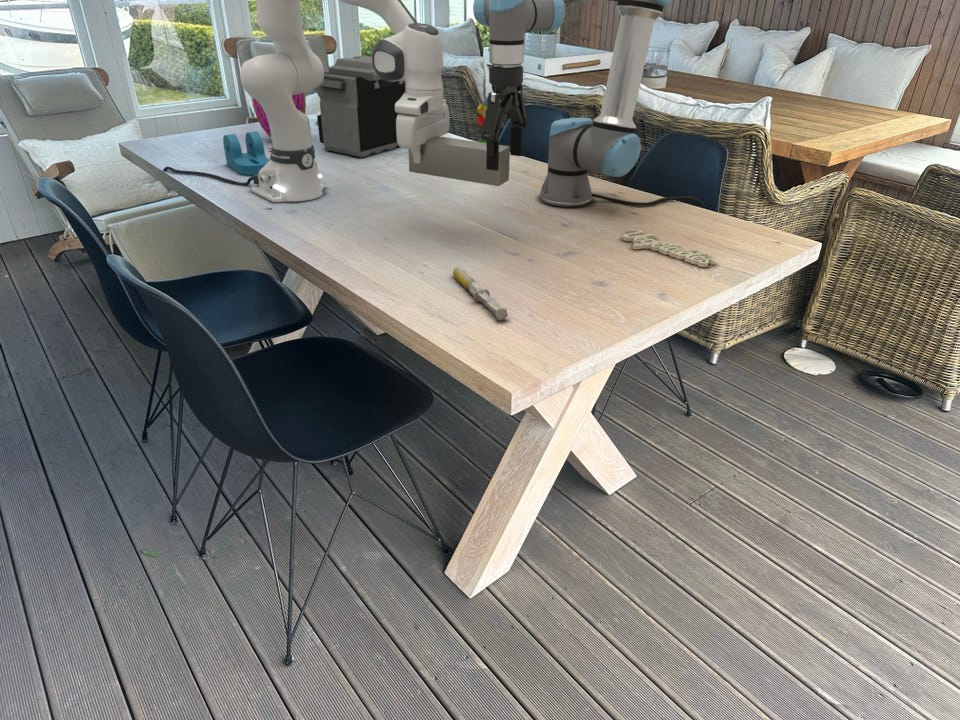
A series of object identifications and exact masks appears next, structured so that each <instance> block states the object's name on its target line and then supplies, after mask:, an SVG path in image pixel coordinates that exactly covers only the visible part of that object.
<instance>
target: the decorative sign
mask: <svg viewBox="0 0 960 720" xmlns="http://www.w3.org/2000/svg"><path fill="white" fill-rule="evenodd" d="M622 240H623V241H624V242H625V241H626V242H632V249H633V250H643V249H646V250H647V249H648V250H649V249H650V250H651V251H655V252H658V253H660V254H663V255H665V256H667V255H668V256H669V257H672V258H675V259H676V260H677V259H678V260H684V262H686V263H690V264H692V265H697V266H698V267H700V268H708V267H709V264H710V265H711V266H713V265H714V264H715V259H713V258H710V257H708V255H709V253H708V252H705V251H704V252H698V249H697V248H690V249H689V248H688V249H683V248H682V245H679V244H678V243H672V242H669V241H667V242H660V241H659V240H656V239H655V234H654V233H647V234H646V233H645V234H643V230H640V229H636V228H629V230H628V233H625V234H623V237H622Z"/></svg>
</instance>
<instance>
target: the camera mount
mask: <svg viewBox="0 0 960 720" xmlns="http://www.w3.org/2000/svg"><path fill="white" fill-rule="evenodd" d="M222 140H223V141H222V143H223V149H224V150H223V151H224V156H225V161H226V165H227V166H228V167H230V168H231V169H232V170H234V171H236V172H237V173H238V174H239V175H244V176H254V175H257V174H259V171H260V170H261V169H262V168H263V167H264V166H265V165H266V164H267V163H268V162H269V161H270V160H271V159H270V158H268V157H267V156H266V153H265V145H264V141H263V139H262V136H261V134H260V132H258V131H247V132H246V133H245V146H246V152H243V151H242V150H243V149H242V146H241V142H240V140H239V138H238V135H236V134H235V133H231V134H224V135H223V138H222Z"/></svg>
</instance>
